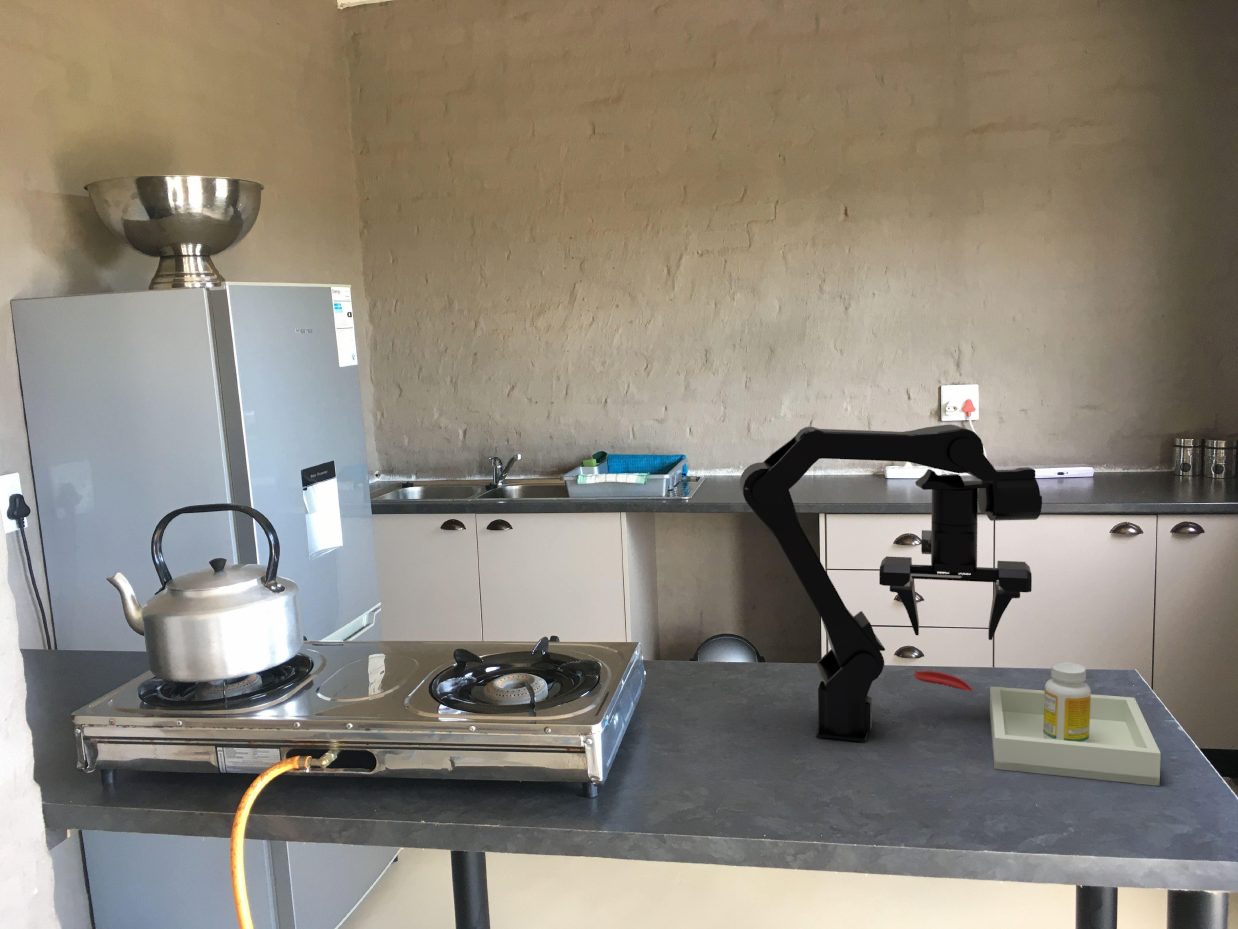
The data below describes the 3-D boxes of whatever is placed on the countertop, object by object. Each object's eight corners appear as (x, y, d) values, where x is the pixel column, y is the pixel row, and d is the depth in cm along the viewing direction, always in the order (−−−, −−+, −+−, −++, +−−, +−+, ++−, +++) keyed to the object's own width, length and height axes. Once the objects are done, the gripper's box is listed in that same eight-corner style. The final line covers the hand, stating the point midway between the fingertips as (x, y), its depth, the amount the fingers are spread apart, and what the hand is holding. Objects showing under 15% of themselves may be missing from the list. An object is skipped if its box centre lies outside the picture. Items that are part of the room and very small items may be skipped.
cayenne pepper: (903, 675, 155) (903, 663, 155) (927, 670, 157) (927, 659, 156) (956, 700, 144) (956, 688, 144) (980, 695, 146) (981, 682, 145)
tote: (994, 768, 120) (995, 737, 120) (989, 713, 137) (990, 686, 137) (1159, 786, 115) (1160, 753, 114) (1133, 726, 131) (1134, 697, 131)
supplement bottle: (1037, 741, 126) (1039, 669, 124) (1050, 727, 130) (1052, 657, 128) (1082, 751, 122) (1084, 677, 121) (1094, 737, 126) (1096, 665, 125)
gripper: (1027, 512, 133) (1025, 623, 135) (885, 508, 139) (884, 615, 141) (1033, 528, 123) (1030, 649, 125) (879, 524, 129) (879, 639, 131)
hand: (953, 636), depth 131 cm, fingers open, 9 cm apart
